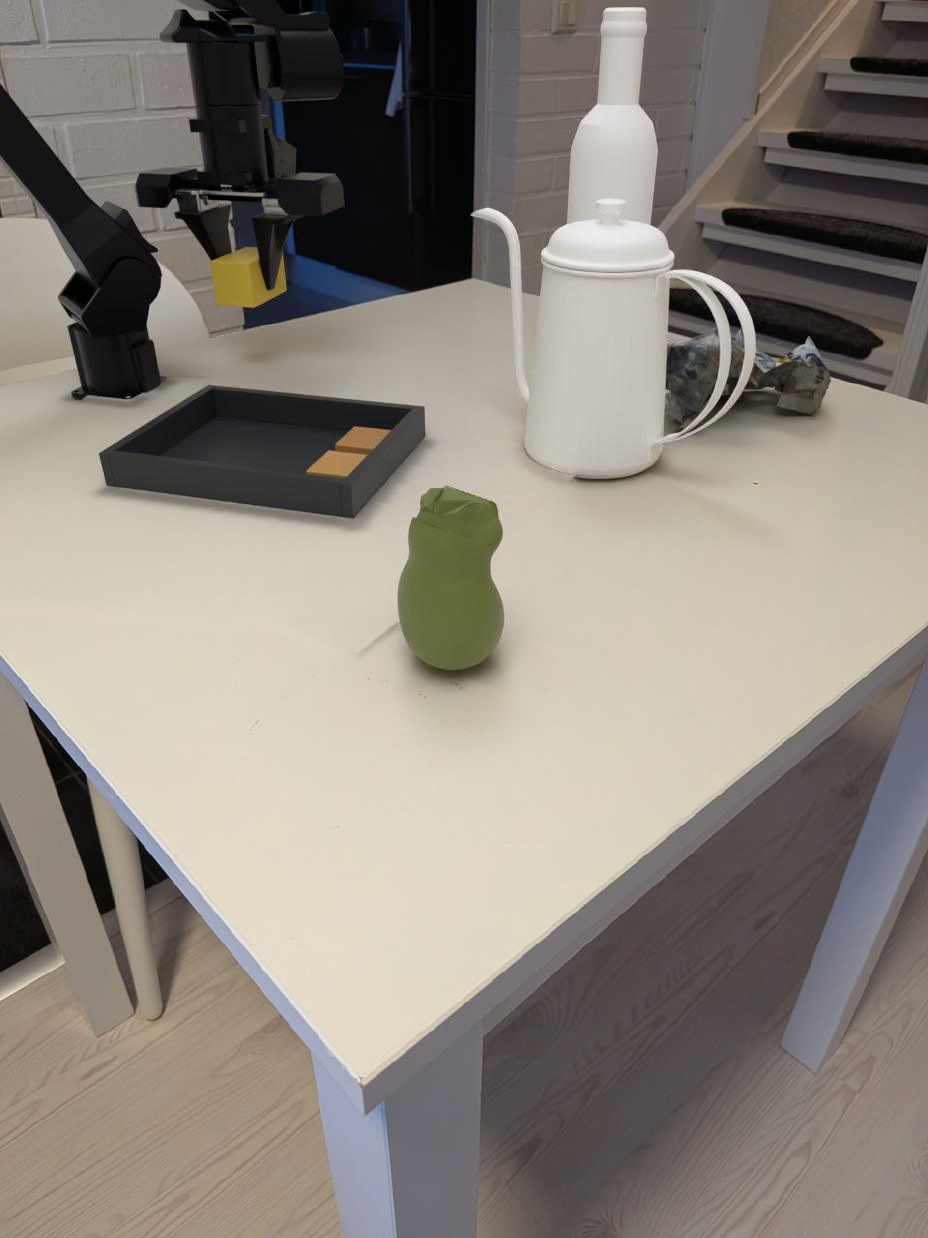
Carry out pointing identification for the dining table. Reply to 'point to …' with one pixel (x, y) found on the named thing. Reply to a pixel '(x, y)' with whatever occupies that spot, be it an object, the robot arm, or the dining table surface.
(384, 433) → the block
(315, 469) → the block
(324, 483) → the pan
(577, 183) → the bottle
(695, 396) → the foil
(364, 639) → the dining table surface
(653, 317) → the coffeepot
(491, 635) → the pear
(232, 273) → the sponge
